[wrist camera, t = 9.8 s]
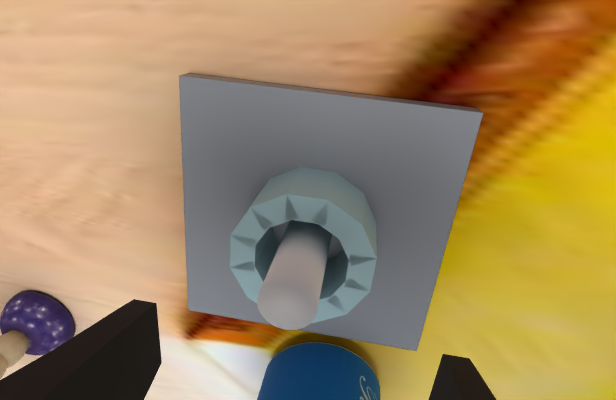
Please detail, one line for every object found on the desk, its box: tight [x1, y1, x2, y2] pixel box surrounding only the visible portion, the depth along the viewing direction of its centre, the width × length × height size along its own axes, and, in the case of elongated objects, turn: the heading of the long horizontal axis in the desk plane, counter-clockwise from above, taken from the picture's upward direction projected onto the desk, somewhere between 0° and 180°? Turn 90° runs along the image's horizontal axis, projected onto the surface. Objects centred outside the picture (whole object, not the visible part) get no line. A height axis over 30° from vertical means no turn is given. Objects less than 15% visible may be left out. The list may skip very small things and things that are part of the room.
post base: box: [179, 73, 483, 351], centre depth 16 cm, size 12×12×6 cm
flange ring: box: [230, 167, 377, 323], centre depth 17 cm, size 6×6×3 cm
